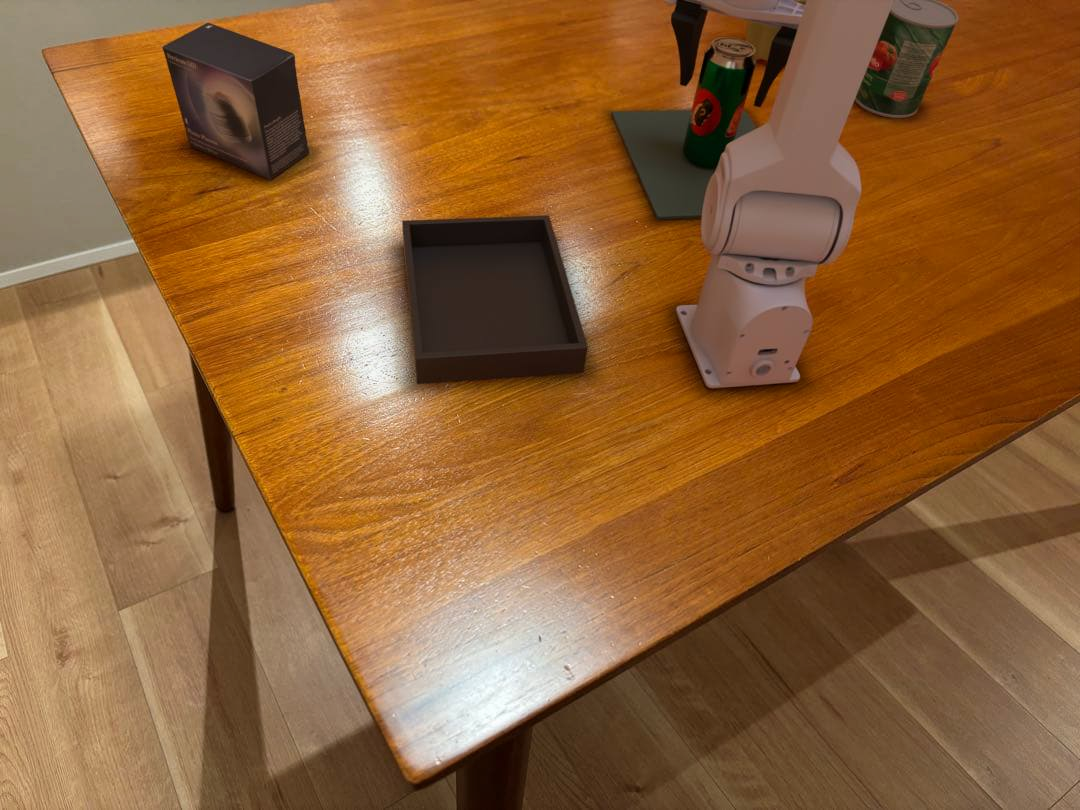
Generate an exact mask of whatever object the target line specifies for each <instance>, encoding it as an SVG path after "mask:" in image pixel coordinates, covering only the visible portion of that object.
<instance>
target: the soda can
mask: <svg viewBox="0 0 1080 810" xmlns="http://www.w3.org/2000/svg"><path fill="white" fill-rule="evenodd" d="M755 52H756V51H755V48H754V46H753V45H752V44H750V43H748V42H747V41H745V39H742V38H737V37H732V36H720V37H716V38H714V39H713V40H712V41H711V42H710V46H709V47H708V48H707V49H706V50H705V51H704V55H703V59H702V63H701V67H700V72H699V76H698V81H697V84H696V89H695V92H694V97H693V101H692V105H691V109H690V110H691V114H690V119H689V123H688V127H687V131H686V136H685V140H684V144H683V153H684V155H685V157H686V159H687V160H688V161H689V162H690V163H692V164H694V165H696V166H698V167H702V168H717V166H718V163H719V160H720V157H721V154H722V153H723V152H724V151H725V148H726V145H727V144H728V143H730V142H732V141H734V140H735V137H736V133H737V130H738V126H739V123H740V119H741V116H742V112H743V109H744V110H745V105H746V101H747V98H748V94H749V91H750V87H751V84H752V80H753V77H754V74H755V69H756V66H757V60H756V58H755Z"/></svg>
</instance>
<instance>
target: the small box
mask: <svg viewBox="0 0 1080 810" xmlns="http://www.w3.org/2000/svg"><path fill="white" fill-rule="evenodd" d="M161 48H162V51H163V54H164V57H165V61H166V65H167V69H168V73H169V76H170V79H171V83H172V87H173V90H174V93H175V97H176V100H177V104H178V107H179V111H180V115H181V119H182V123H183V126H184V130H185V134H186V137H187V141H188V146H189V147H191V148H192V149H195V150H198V151H200V152H203V153H206V154H208V155H210V156H213V157H215V158H217V159H219V160H222V161H224V162H227V163H229V164H231V165H233V166H236V167H239V168H241V169H244V170H246V171H247V172H250V173H252V174H255V175H258V176H259V177H262V178H264V179H267V180H268V181H271V180H273V179H275V178H276V177H277V176H279V175H280V174H282V173H283V172H284V171H287V169H289V168H290V167H292V166H293V165H295V164H296V163H298V162H299V161H301V159H304V158H305V157H306V156H307V155H309V154H310V148H309V145H308V143H309V142H308V138H307V132H306V125H305V119H304V113H303V106H302V101H301V94H300V89H299V82H298V75H297V66H296V57H295V53H294V52H292V51H289V50H286V49H283V48H280V47H277V46H275V45H271V44H268V43H266V42H264V41H261V40H258V39H255V38H252V37H249V36H247V35H244V34H241V33H238V32H236V31H233V30H229V29H227V28H225V27H222V26H220V25H216V24H214V23H211V22H206V23H204V24H202V25H200V26H199V27H197V28H194V29H193V30H191V31H189V32H187V33H185V34H183V35H181V36H179V37H177V38H176V39H173V40H172V41H170V42H168V43H166V44H164V45H162V46H161Z"/></svg>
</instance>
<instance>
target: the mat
mask: <svg viewBox="0 0 1080 810" xmlns="http://www.w3.org/2000/svg"><path fill="white" fill-rule="evenodd" d="M691 110H692V109H685V110H684V109H683V110H681V109H679V110H676V109H675V110H673V109H671V110H614V111H613V110H612V111H611V112H610V115H611V118H612V120H613V122H614V125H615V126H616V129H617V131H618V133H619V136H620V138H621V140H622V142H623V145H624V147H625V150H626V151H627V154H628V156H629V159H630V161H631V164H632V166H633V169H634V170H635V172H636V173H635V174H636V175H637V177H638V181H639V182H640V184H641V186H642V189H643V191H644V193H645V196H646V198H647V200H648V203H649V206H650V207H651V210H652V211H653V214H654V216H655V219H656V220H657V221H665V220H693V219H694V220H695V219H702V210H703V203H704V198H705V194H706V190H707V186H708V183H709V181H710V178H711V177H712V175H713V174H714V173H715V171H716V168H702V167H698V166H696V165H694V164H692V163H690V162H689V161H688V160H687V159H686V157H685V155H684V153H683V144H684V140H685V136H686V131H687V127H688V123H689V119H690V114H691ZM757 128H758V127H756V125H755V123H754V122H753V120H752V118H751V117H750V115H749V113H748V112H747V111H746V109H745V108H744V109H743V112H742V116H741V119H740V123H739V126H738V130H737V133H736V137H735V139H737V138H739V137H741V136H743V135H745V134H747V133H749V132H751V131H753V130H755V129H757Z"/></svg>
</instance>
